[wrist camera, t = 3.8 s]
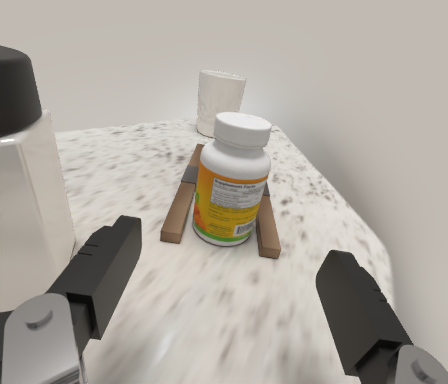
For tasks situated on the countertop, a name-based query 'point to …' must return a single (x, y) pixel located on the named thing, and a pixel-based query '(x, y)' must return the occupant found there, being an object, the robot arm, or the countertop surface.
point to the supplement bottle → (231, 178)
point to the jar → (29, 189)
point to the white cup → (217, 97)
